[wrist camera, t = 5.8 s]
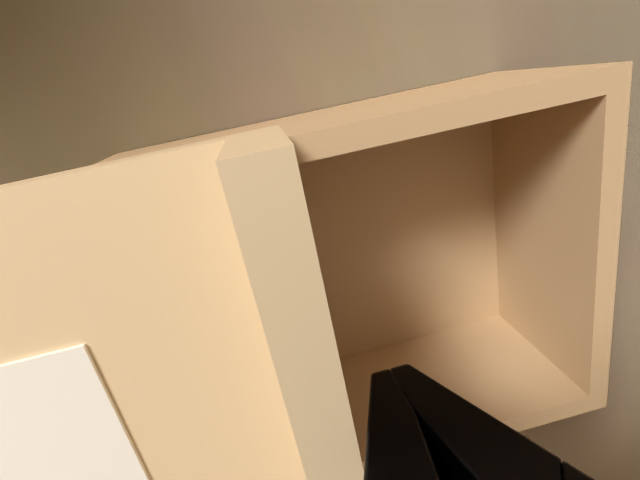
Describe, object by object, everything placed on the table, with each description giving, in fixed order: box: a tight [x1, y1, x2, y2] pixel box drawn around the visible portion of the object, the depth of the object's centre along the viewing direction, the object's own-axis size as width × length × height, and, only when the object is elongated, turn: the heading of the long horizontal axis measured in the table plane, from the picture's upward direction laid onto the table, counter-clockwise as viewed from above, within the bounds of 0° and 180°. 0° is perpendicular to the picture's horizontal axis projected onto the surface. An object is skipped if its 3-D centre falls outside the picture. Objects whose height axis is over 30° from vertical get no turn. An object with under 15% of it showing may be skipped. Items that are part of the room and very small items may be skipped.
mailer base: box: [94, 61, 633, 470], centre depth 13 cm, size 13×10×6 cm
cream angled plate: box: [0, 125, 364, 480], centre depth 8 cm, size 14×11×3 cm
